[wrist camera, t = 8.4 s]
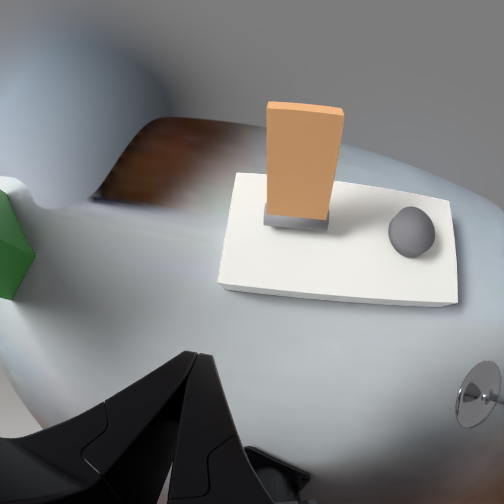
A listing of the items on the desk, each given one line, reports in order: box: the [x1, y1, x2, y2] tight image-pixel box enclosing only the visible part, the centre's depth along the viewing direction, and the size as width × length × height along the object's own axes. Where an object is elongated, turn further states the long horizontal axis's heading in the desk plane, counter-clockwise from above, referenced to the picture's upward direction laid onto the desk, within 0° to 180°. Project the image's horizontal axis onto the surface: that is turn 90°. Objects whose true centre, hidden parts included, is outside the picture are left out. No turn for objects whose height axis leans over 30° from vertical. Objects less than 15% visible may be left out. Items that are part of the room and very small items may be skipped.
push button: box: [388, 206, 435, 258], centre depth 18 cm, size 4×4×1 cm
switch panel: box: [217, 173, 458, 307], centre depth 21 cm, size 9×19×3 cm, turn 83°
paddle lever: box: [263, 102, 344, 232], centre depth 16 cm, size 2×4×9 cm, turn 84°
